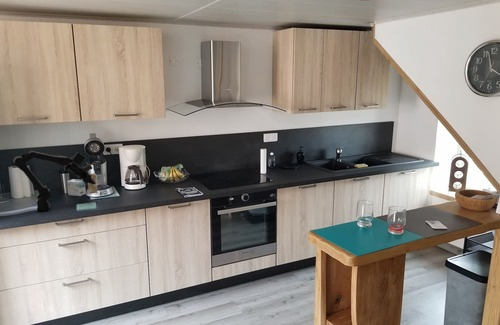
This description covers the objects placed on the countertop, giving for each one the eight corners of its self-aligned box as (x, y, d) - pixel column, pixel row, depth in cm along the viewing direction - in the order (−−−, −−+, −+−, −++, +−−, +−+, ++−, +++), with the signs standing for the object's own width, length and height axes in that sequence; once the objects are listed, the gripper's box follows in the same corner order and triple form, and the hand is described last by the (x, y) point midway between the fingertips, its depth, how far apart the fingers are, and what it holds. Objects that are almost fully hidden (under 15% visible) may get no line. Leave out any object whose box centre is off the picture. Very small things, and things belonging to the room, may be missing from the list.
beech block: (90, 194, 264) (88, 175, 262) (88, 192, 268) (86, 174, 266) (97, 192, 267) (96, 174, 264) (96, 191, 271) (94, 173, 268)
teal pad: (76, 211, 251) (76, 209, 251) (76, 205, 261) (76, 204, 261) (96, 208, 255) (96, 207, 255) (95, 203, 266) (95, 202, 266)
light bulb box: (86, 193, 288) (85, 179, 286) (80, 196, 282) (78, 182, 280) (74, 192, 291) (72, 178, 289) (67, 195, 285) (66, 181, 282)
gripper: (87, 162, 253) (105, 176, 261) (81, 158, 268) (99, 171, 276) (75, 176, 250) (94, 189, 259) (70, 170, 265) (88, 183, 274)
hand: (94, 183), depth 267 cm, fingers closed on beech block, 5 cm apart
